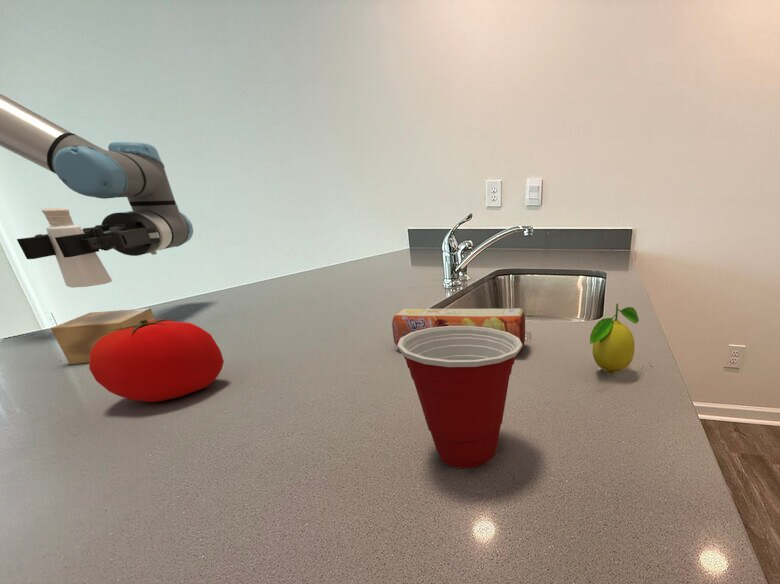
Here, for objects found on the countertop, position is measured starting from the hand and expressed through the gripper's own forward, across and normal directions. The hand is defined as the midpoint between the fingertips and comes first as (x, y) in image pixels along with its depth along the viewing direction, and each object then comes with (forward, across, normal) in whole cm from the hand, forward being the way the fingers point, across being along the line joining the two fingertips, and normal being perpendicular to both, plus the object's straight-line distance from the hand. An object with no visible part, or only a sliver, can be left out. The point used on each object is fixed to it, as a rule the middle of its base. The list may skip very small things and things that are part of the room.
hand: (44, 248), depth 57 cm
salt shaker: (-5, 0, -6) cm, 8 cm away
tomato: (+16, -17, -18) cm, 29 cm away
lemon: (+27, -75, -18) cm, 82 cm away
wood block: (-5, 0, -17) cm, 18 cm away
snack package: (+11, -56, -18) cm, 60 cm away
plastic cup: (+40, -53, -18) cm, 69 cm away
